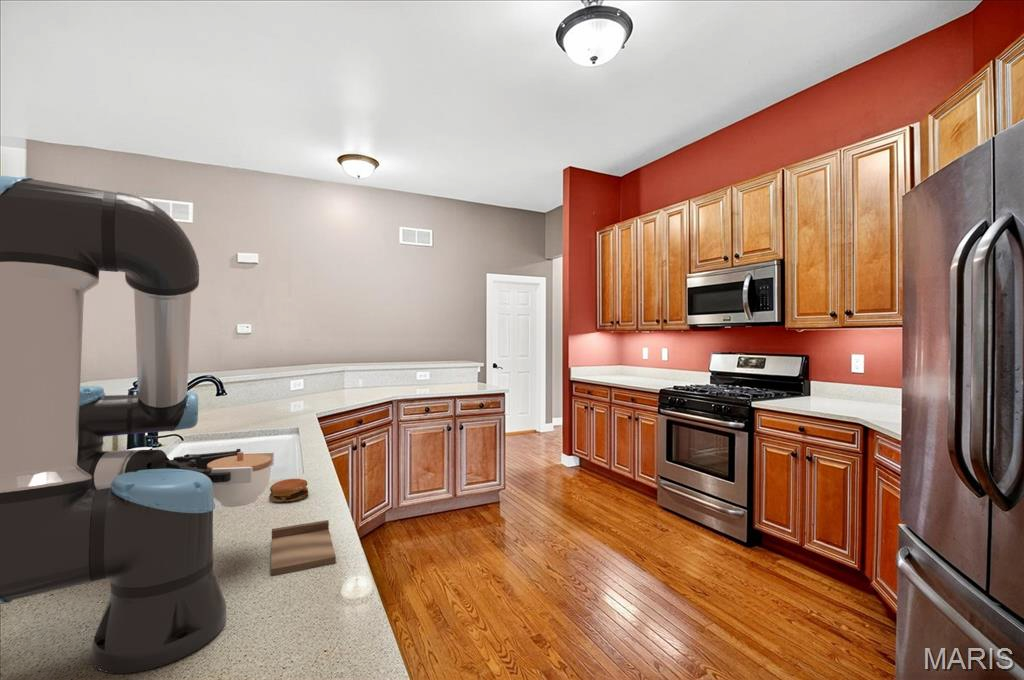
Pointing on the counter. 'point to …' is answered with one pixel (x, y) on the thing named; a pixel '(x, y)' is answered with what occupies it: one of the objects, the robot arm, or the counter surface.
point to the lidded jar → (242, 491)
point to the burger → (288, 490)
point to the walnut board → (301, 547)
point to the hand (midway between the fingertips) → (263, 466)
